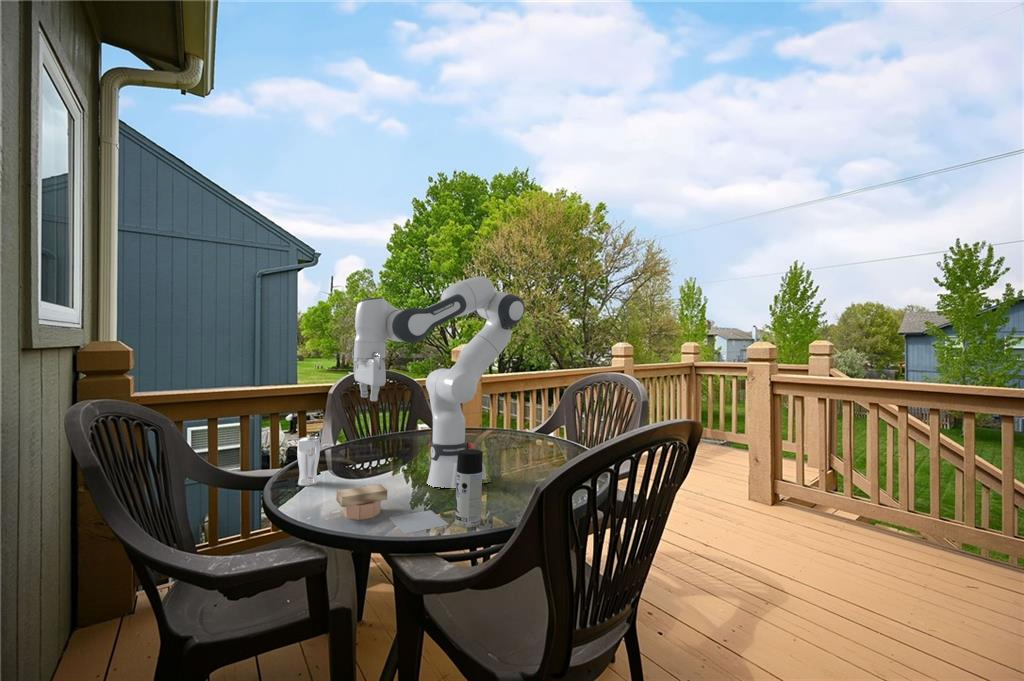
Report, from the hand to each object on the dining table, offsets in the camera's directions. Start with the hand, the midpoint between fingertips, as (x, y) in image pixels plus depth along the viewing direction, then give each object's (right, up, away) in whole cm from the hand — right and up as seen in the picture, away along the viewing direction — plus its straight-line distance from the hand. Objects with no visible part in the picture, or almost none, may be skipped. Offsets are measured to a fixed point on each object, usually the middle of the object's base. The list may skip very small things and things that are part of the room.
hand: (368, 399), depth 139 cm
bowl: (+1, -31, -11) cm, 33 cm away
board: (+1, -26, -11) cm, 28 cm away
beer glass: (-26, -31, +19) cm, 45 cm away
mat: (+18, -32, -16) cm, 39 cm away
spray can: (+31, -32, -15) cm, 47 cm away
